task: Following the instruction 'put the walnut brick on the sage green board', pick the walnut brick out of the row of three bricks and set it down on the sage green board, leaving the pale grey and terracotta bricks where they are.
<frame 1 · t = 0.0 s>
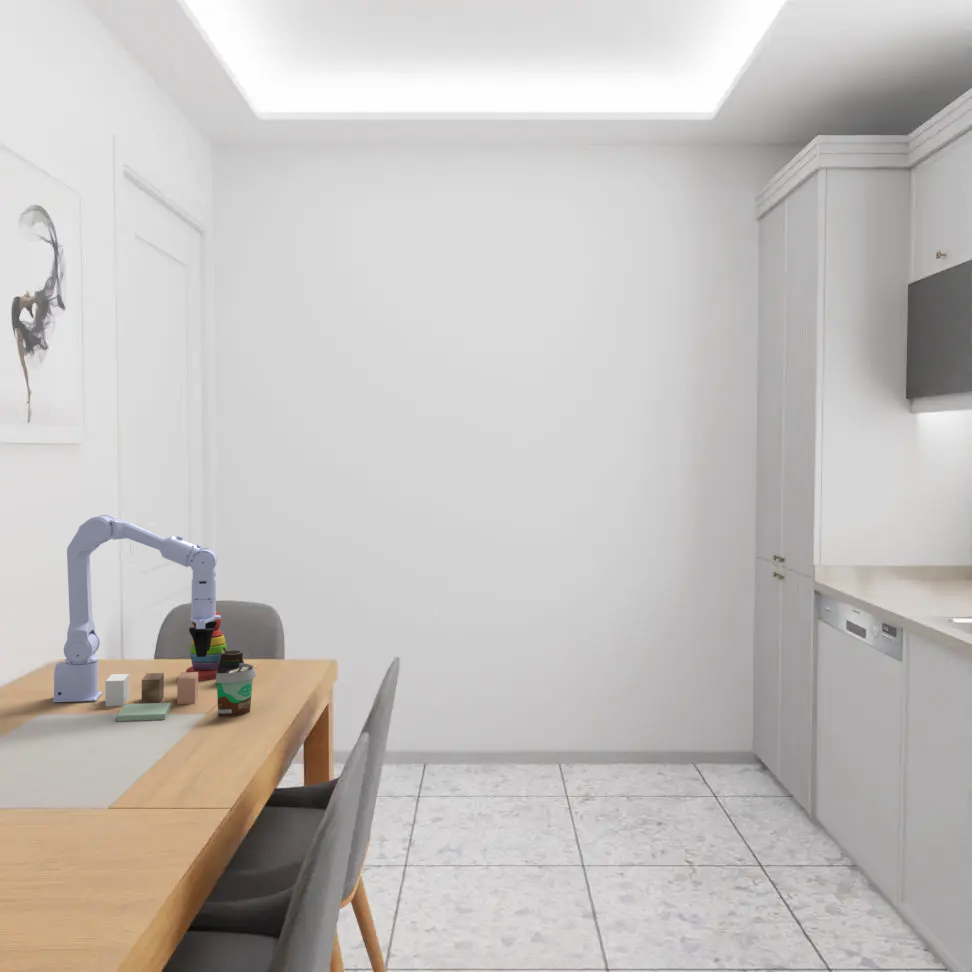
hand: (203, 653, 228), 10 cm above the table, tool pointing down, fingers open, 7 cm apart
pale grey brick: (117, 702, 219), on the table
terracotta brick: (187, 700, 223), on the table
sage green board: (144, 714, 209), on the table
stacking bear: (206, 676, 249), on the table
mate gourd: (231, 683, 241), on the table
walnut brick: (152, 701, 221), on the table
food container: (240, 713, 213), on the table
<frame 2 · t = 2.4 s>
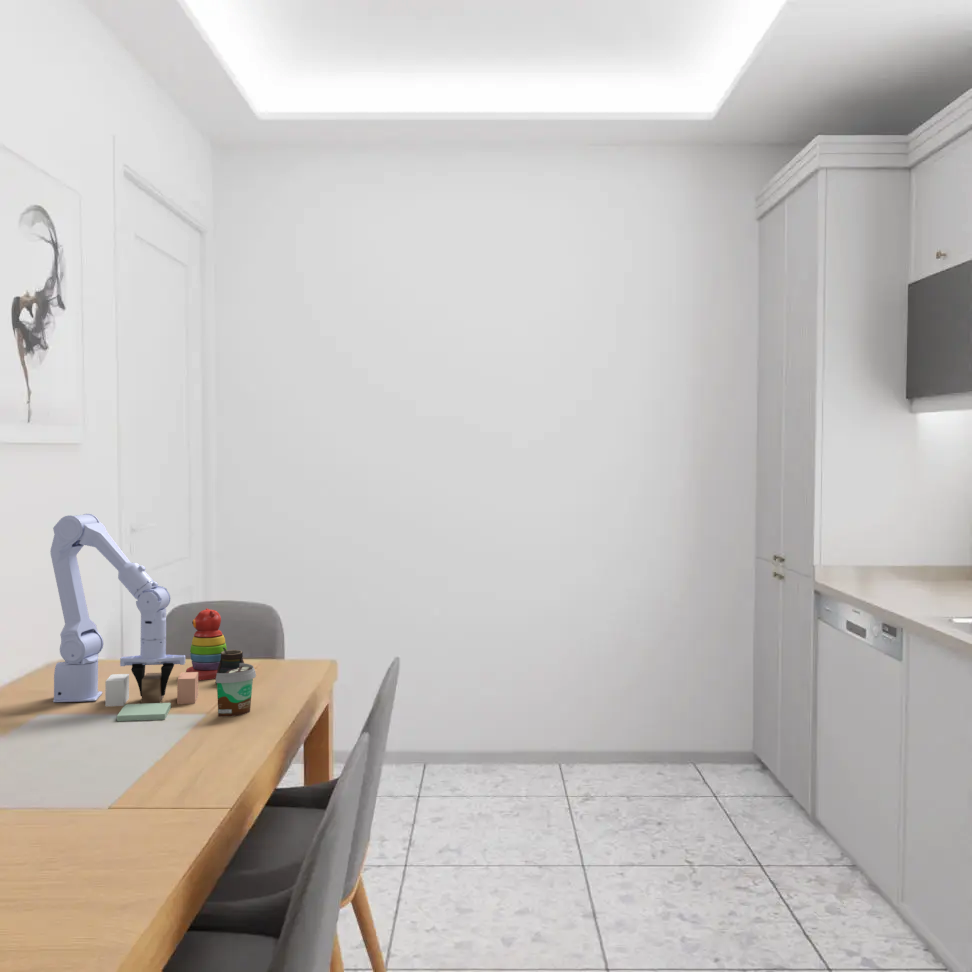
hand: (152, 695, 221), 1 cm above the table, tool pointing down, fingers closed on walnut brick, 4 cm apart
walnut brick: (152, 701, 221), on the table, touching gripper
everything else where it was.
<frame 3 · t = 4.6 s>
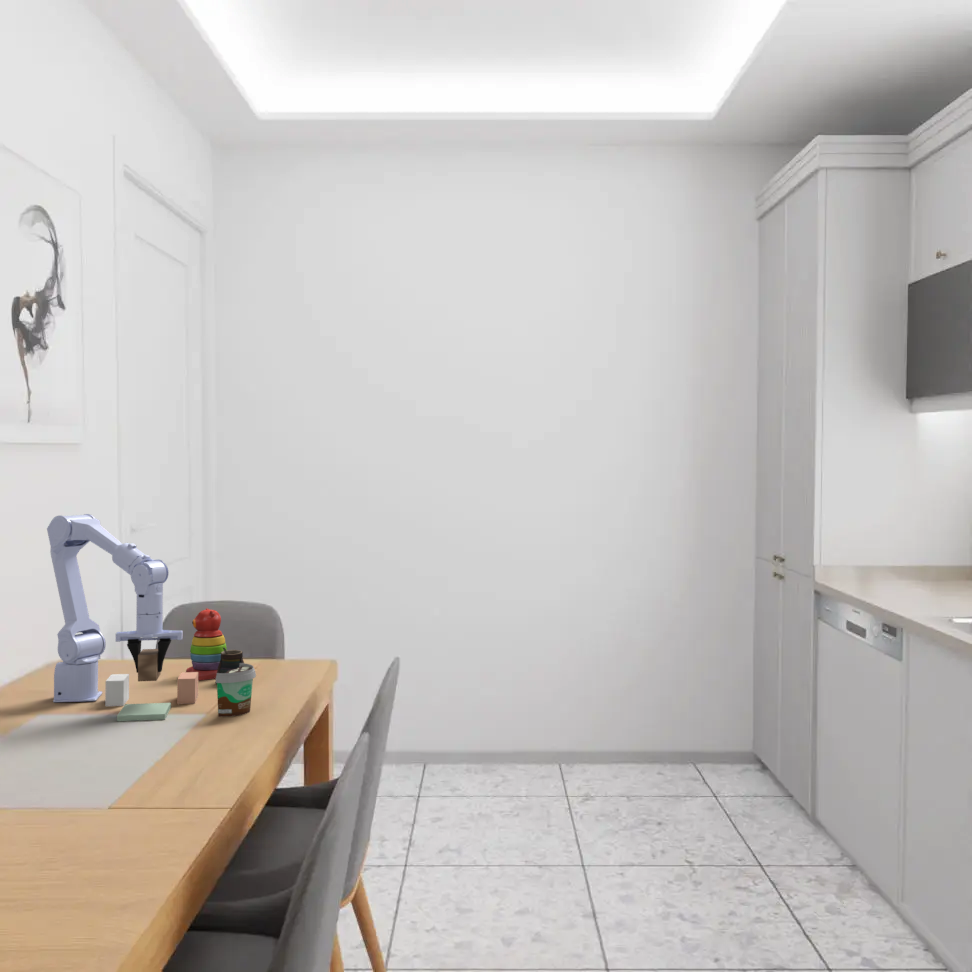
hand: (149, 671, 215), 8 cm above the table, tool pointing down, fingers closed on walnut brick, 4 cm apart
walnut brick: (149, 677, 215), point 7 cm above the table, touching gripper
everything else where it was.
when the fingers open (4 cm above the table, at t = 6.7 s): walnut brick drops 1 cm, resting on sage green board.
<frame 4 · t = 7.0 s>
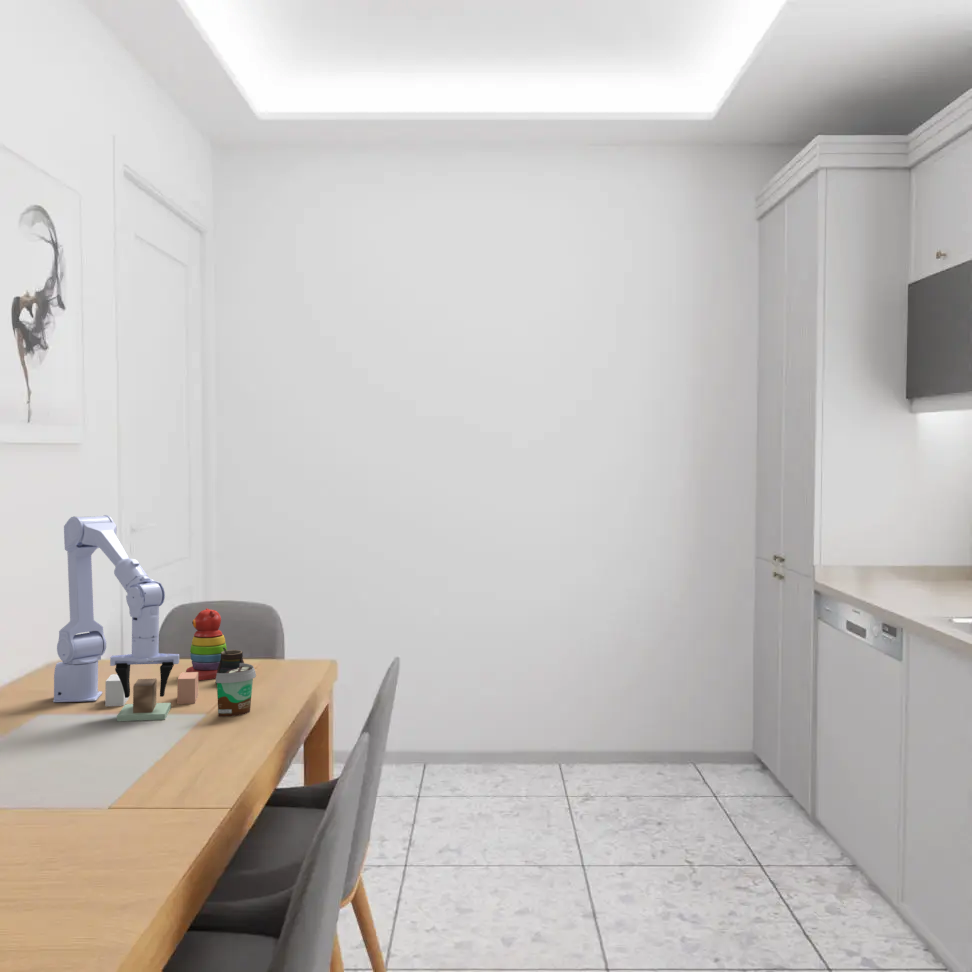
hand: (144, 696, 209), 4 cm above the table, tool pointing down, fingers open, 7 cm apart
walnut brick: (144, 708, 210), point 1 cm above the table, touching sage green board
everything else where it was.
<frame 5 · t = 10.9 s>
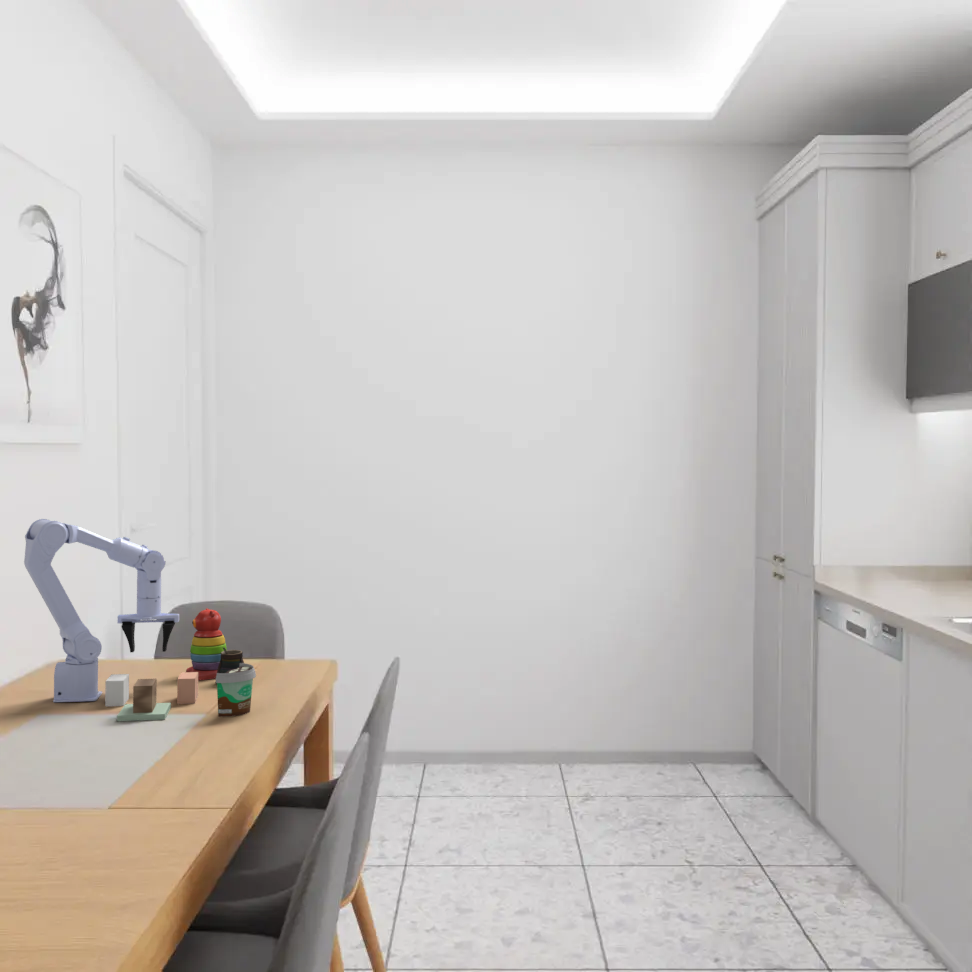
hand: (148, 651, 233), 9 cm above the table, tool pointing down, fingers open, 7 cm apart
nothing on the table moved.
at the end: walnut brick 0.2 cm off-centre on the sage green board, point 1.2 cm above the sage green board's base; pale grey brick moved 0.1 cm from its start; terracotta brick moved 0.1 cm from its start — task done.
